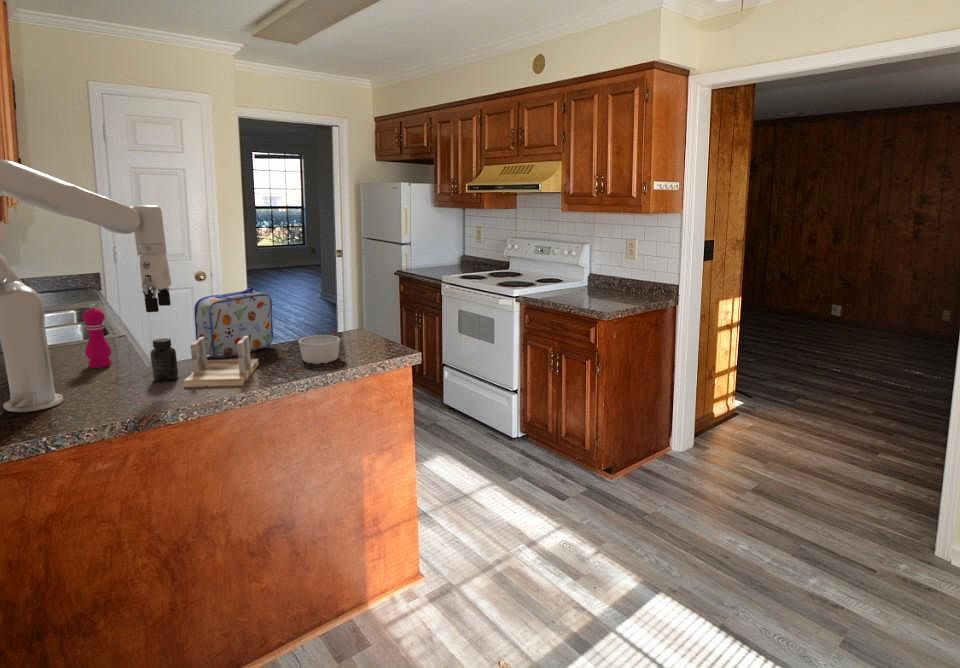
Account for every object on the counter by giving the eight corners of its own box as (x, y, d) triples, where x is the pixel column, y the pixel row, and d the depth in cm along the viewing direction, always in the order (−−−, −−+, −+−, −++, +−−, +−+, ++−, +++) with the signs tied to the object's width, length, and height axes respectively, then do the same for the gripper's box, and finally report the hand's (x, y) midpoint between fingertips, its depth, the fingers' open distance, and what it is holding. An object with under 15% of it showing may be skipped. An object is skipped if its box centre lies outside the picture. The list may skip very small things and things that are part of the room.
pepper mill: (89, 369, 199) (80, 306, 195) (85, 365, 205) (76, 303, 200) (115, 365, 204) (107, 304, 199) (110, 361, 209) (102, 301, 205)
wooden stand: (242, 385, 184) (239, 348, 182) (184, 387, 182) (180, 350, 180) (258, 364, 206) (256, 331, 203) (206, 366, 204) (203, 332, 201)
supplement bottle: (183, 378, 191) (179, 339, 189) (162, 383, 186) (157, 343, 183) (169, 374, 195) (165, 336, 192) (148, 380, 189) (143, 340, 186)
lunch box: (260, 342, 235) (256, 283, 230) (280, 346, 230) (276, 285, 225) (194, 359, 212) (187, 293, 207) (214, 363, 207) (208, 296, 202)
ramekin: (344, 363, 208) (343, 342, 207) (302, 367, 203) (301, 345, 202) (337, 353, 220) (336, 333, 219) (297, 357, 215) (296, 336, 214)
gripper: (154, 252, 174) (161, 314, 178) (175, 246, 190) (182, 302, 194) (125, 252, 173) (133, 314, 177) (149, 246, 189) (156, 303, 193)
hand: (158, 308), depth 185 cm, fingers open, 9 cm apart
